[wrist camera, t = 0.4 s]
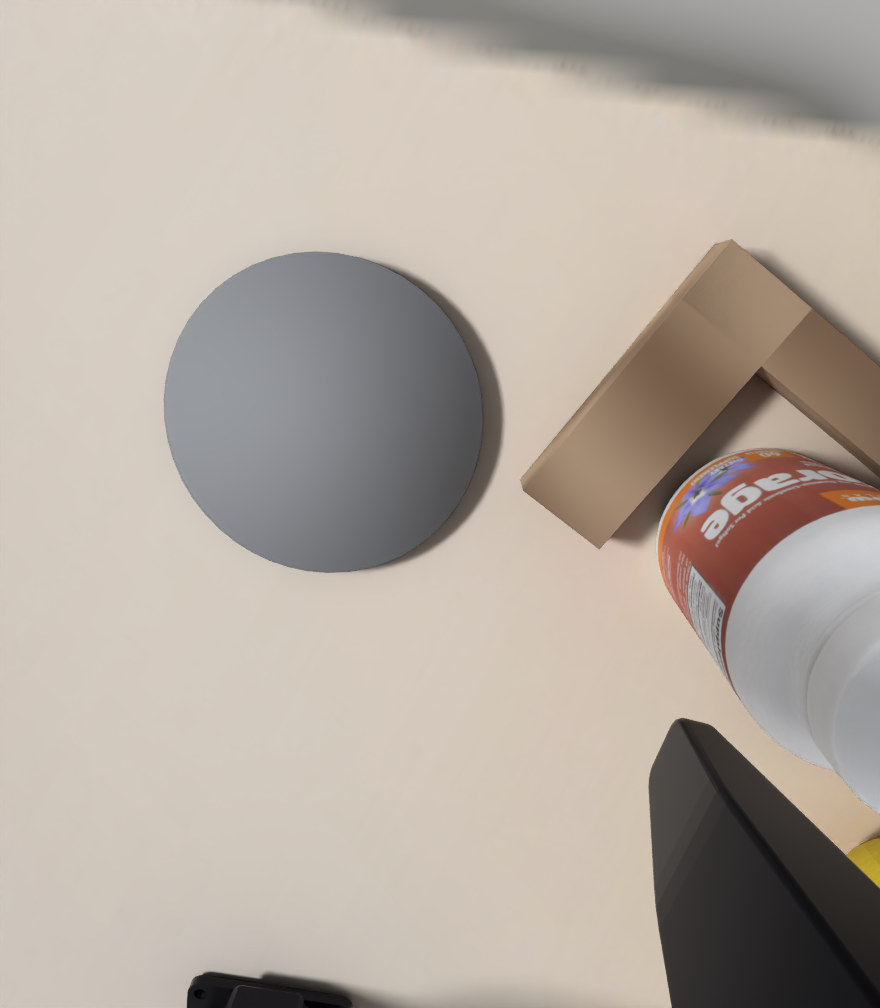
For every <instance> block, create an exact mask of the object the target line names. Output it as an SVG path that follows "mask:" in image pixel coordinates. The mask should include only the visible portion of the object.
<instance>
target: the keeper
mask: <svg viewBox="0 0 880 1008" xmlns="http://www.w3.org/2000/svg"><path fill="white" fill-rule="evenodd" d="M754 374H757V375H758V376H759V377H760V378H761V379H763V380H764V381H765V382H766V383H767V384H769V385H770V386H771V387H772V388H773V389H775V390H776V391H777V392H778V393H779V394H781V395H782V396H783V397H784V398H785V399H787V400H788V401H789V402H790V403H791V404H793V405H794V406H795V407H796V408H797V409H799V410H800V411H801V412H802V413H803V414H804V415H806V416H807V417H808V418H809V419H810V420H812V421H813V422H814V423H815V424H816V425H818V426H819V427H820V428H821V429H822V430H824V431H825V432H826V433H827V434H828V435H830V436H831V437H832V438H833V439H834V440H836V441H837V442H838V443H839V444H840V445H842V446H843V447H844V448H845V449H846V450H848V451H849V452H850V453H851V454H852V455H854V456H855V457H856V458H857V459H858V460H859V461H861V462H862V463H863V464H864V465H865V466H867V467H868V468H869V469H870V470H871V471H873V472H874V473H875V474H876V475H877V476H879V477H880V366H878V365H877V364H876V363H875V362H874V361H873V360H871V359H870V358H869V357H868V356H867V355H866V354H865V353H863V352H862V351H861V350H860V349H859V348H858V347H856V346H855V345H854V344H853V343H852V342H851V341H849V340H848V339H847V338H846V337H845V336H844V335H842V334H841V333H840V332H839V331H838V330H837V329H835V328H834V327H833V326H832V325H831V324H830V323H829V322H827V321H826V320H825V319H824V318H823V317H822V316H820V315H819V314H818V313H817V312H816V311H815V310H813V309H812V308H811V307H810V306H809V305H808V304H806V303H805V302H804V301H803V300H802V299H801V298H799V297H798V296H797V295H796V294H795V293H794V292H792V291H791V290H790V289H789V288H788V287H787V286H786V285H784V284H783V283H782V282H781V281H780V280H779V279H777V278H776V277H775V276H774V275H773V274H772V273H770V272H769V271H768V270H767V269H766V268H765V267H763V266H762V265H761V264H760V263H759V262H758V261H756V260H755V259H754V258H753V257H752V256H751V255H750V254H748V253H747V252H746V251H745V250H744V249H743V248H741V247H740V246H739V245H738V244H737V243H736V242H734V241H733V240H732V239H731V240H728V241H725V242H721V243H718V244H715V245H714V246H713V247H712V248H711V249H710V251H709V252H708V253H707V254H706V255H705V257H704V258H703V259H702V260H701V262H700V263H699V264H698V265H697V266H696V268H695V269H694V270H693V271H692V272H691V274H690V275H689V276H688V277H687V278H686V280H685V281H684V282H683V283H682V285H681V286H680V287H679V288H678V289H677V291H676V292H675V293H674V294H673V295H672V297H671V298H670V299H669V300H668V301H667V303H666V304H665V305H664V306H663V308H662V309H661V310H660V311H659V312H658V314H657V315H656V316H655V317H654V318H653V320H652V321H651V322H650V323H649V324H648V326H647V327H646V328H645V329H644V331H643V332H642V333H641V334H640V335H639V337H638V338H637V339H636V340H635V341H634V343H633V344H632V345H631V346H630V347H629V349H628V350H627V351H626V352H625V354H624V355H623V356H622V357H621V358H620V360H619V361H618V362H617V363H616V364H615V366H614V367H613V368H612V369H611V371H610V372H609V373H608V374H607V375H606V377H605V378H604V379H603V380H602V381H601V383H600V384H599V385H598V386H597V387H596V389H595V390H594V391H593V392H592V394H591V395H590V396H589V397H588V398H587V400H586V401H585V402H584V403H583V404H582V406H581V407H580V408H579V409H578V410H577V412H576V413H575V414H574V415H573V417H572V418H571V419H570V420H569V421H568V423H567V424H566V425H565V426H564V427H563V429H562V430H561V431H560V432H559V433H558V435H557V436H556V437H555V438H554V440H553V441H552V442H551V443H550V444H549V446H548V447H547V448H546V449H545V450H544V452H543V453H542V454H541V455H540V456H539V458H538V459H537V460H536V461H535V463H534V464H533V465H532V466H531V467H530V469H529V470H528V471H527V472H526V473H525V475H524V476H523V477H522V478H521V479H520V480H521V484H522V488H523V491H524V492H526V493H527V494H528V495H530V496H531V497H532V498H533V499H535V500H536V501H537V502H539V503H540V504H541V505H543V506H544V507H545V508H546V509H548V510H549V511H550V512H552V513H553V514H554V515H555V516H557V517H558V518H559V519H561V520H562V521H563V522H565V523H566V524H567V525H568V526H570V527H571V528H572V529H574V530H575V531H576V532H577V533H579V534H580V535H581V536H583V537H584V538H585V539H587V540H588V541H589V542H590V543H592V544H593V545H594V546H596V547H597V548H598V549H600V548H601V547H602V546H603V545H604V544H605V542H606V541H607V540H608V539H609V538H610V537H611V536H612V535H613V533H614V532H615V531H616V530H617V529H618V528H619V527H620V525H621V524H622V523H623V522H624V521H625V520H626V519H627V518H628V516H629V515H630V514H631V513H632V512H633V511H634V510H635V508H636V507H637V506H638V505H639V504H640V503H641V502H642V501H643V499H644V498H645V497H646V496H647V495H648V494H649V493H650V491H651V490H652V489H653V488H654V487H655V486H656V485H657V484H658V482H659V481H660V480H661V479H662V478H663V477H664V476H665V475H666V473H667V472H668V471H669V470H670V469H671V468H672V467H673V465H674V464H675V463H676V462H677V461H678V460H679V459H680V458H681V456H682V455H683V454H684V453H685V452H686V451H687V450H688V448H689V447H690V446H691V445H692V444H693V443H694V442H695V441H696V439H697V438H698V437H699V436H700V435H701V434H702V433H703V431H704V430H705V429H706V428H707V427H708V426H709V425H710V424H711V422H712V421H713V420H714V419H715V418H716V417H717V416H718V415H719V413H720V412H721V411H722V410H723V409H724V408H725V407H726V405H727V404H728V403H729V402H730V401H731V400H732V399H733V398H734V396H735V395H736V394H737V393H738V392H739V391H740V390H741V388H742V387H743V386H744V385H745V384H746V383H747V382H748V381H749V379H750V378H751V377H752V376H753V375H754Z"/></svg>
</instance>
